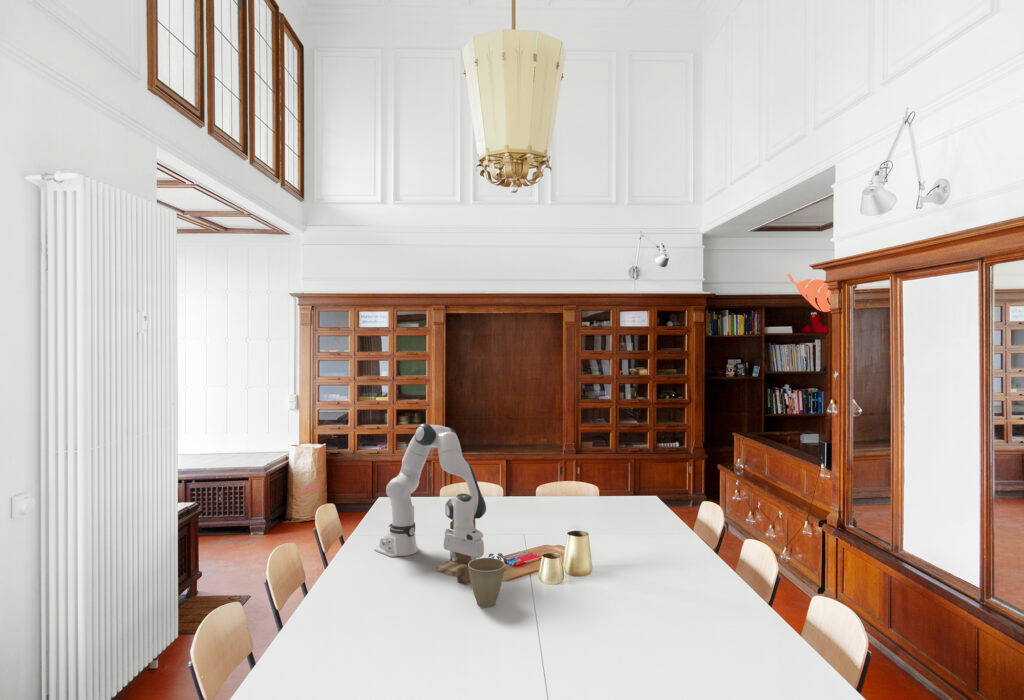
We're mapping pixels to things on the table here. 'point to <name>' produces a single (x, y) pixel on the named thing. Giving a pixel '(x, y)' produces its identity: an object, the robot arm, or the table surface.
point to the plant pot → (486, 580)
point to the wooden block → (460, 557)
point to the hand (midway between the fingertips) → (463, 563)
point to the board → (449, 567)
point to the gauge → (463, 575)
